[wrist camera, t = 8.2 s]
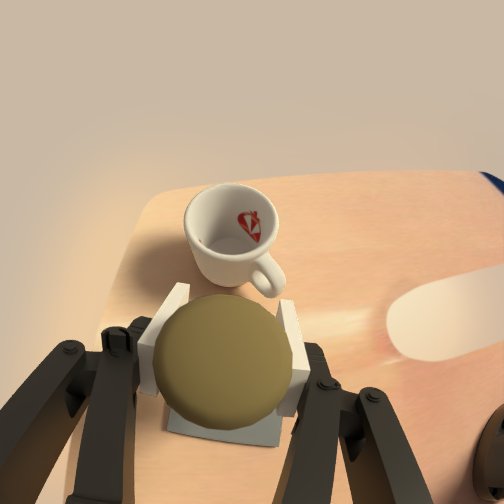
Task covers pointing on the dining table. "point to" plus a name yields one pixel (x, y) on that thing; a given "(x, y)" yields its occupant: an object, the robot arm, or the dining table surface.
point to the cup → (235, 237)
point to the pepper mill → (222, 362)
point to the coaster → (256, 434)
